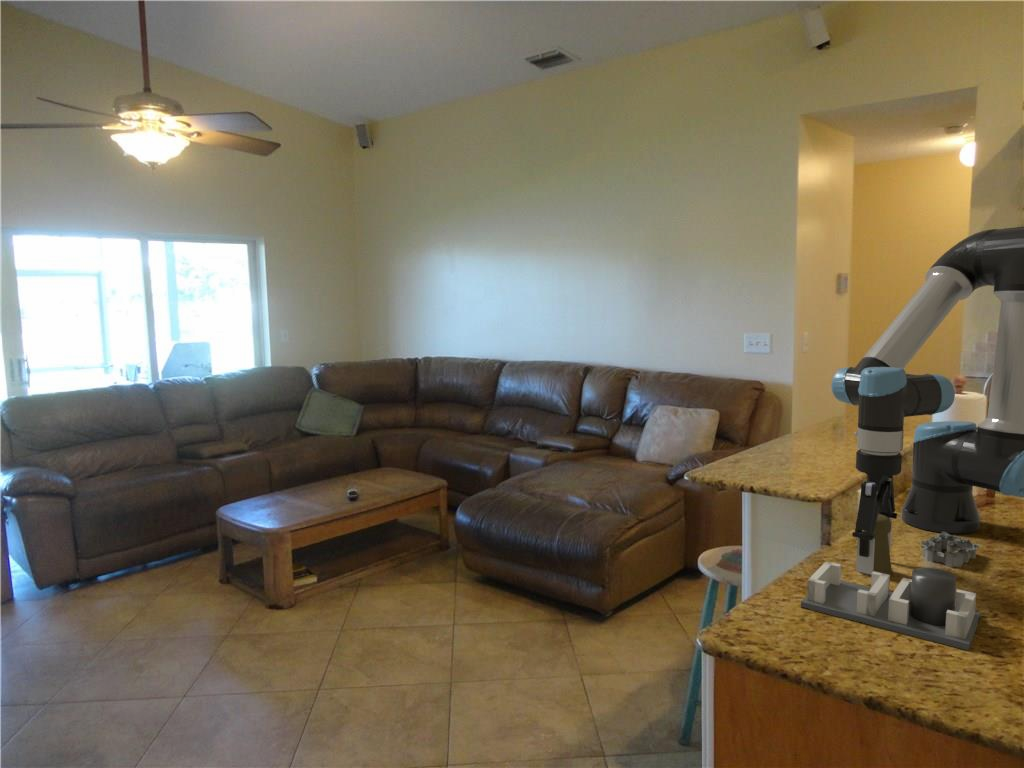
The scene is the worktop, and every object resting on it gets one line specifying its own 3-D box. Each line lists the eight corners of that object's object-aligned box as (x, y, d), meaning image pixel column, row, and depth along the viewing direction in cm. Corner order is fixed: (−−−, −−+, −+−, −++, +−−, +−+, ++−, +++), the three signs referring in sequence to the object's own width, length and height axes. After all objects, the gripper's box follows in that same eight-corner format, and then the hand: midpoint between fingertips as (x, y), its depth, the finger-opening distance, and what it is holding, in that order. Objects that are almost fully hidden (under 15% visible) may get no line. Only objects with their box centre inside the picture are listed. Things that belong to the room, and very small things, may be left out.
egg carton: (956, 571, 132) (958, 550, 132) (915, 559, 138) (916, 539, 138) (982, 558, 138) (984, 538, 138) (942, 547, 144) (943, 527, 144)
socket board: (823, 581, 128) (825, 539, 127) (980, 618, 113) (983, 570, 112) (800, 607, 118) (802, 561, 117) (968, 650, 103) (971, 598, 102)
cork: (894, 579, 129) (897, 521, 127) (858, 575, 131) (860, 518, 129) (889, 567, 134) (891, 511, 133) (854, 563, 136) (856, 509, 135)
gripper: (873, 437, 141) (868, 538, 144) (838, 461, 122) (833, 577, 125) (915, 441, 136) (909, 546, 139) (885, 467, 118) (879, 587, 120)
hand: (873, 561), depth 132 cm, fingers open, 13 cm apart
